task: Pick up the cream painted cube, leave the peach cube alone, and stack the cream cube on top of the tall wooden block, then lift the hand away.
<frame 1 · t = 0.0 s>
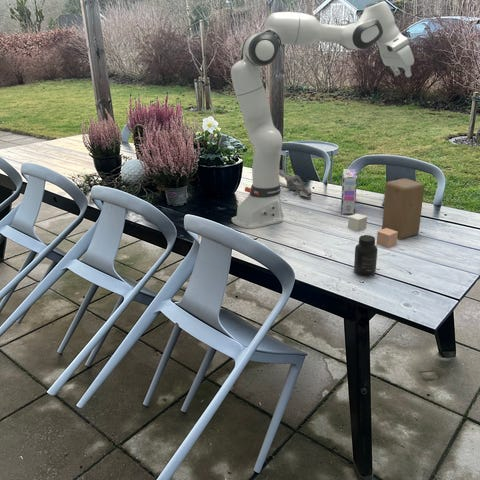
hand: (403, 75, 184), 54 cm above the table, fingers open, 8 cm apart
wooden block: (399, 233, 178), on the table
cream cube: (357, 228, 184), on the table
supplement bottle: (364, 272, 150), on the table
meal: (402, 212, 198), on the table
candy box: (347, 209, 204), on the table
peach cube: (386, 244, 169), on the table
spaceship: (293, 190, 232), on the table
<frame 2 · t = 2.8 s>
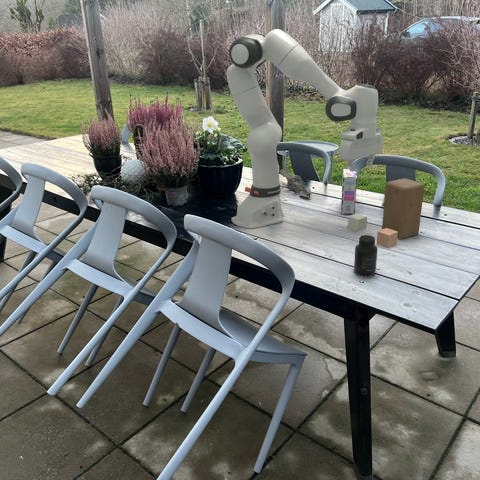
hand: (360, 168, 174), 24 cm above the table, fingers open, 8 cm apart
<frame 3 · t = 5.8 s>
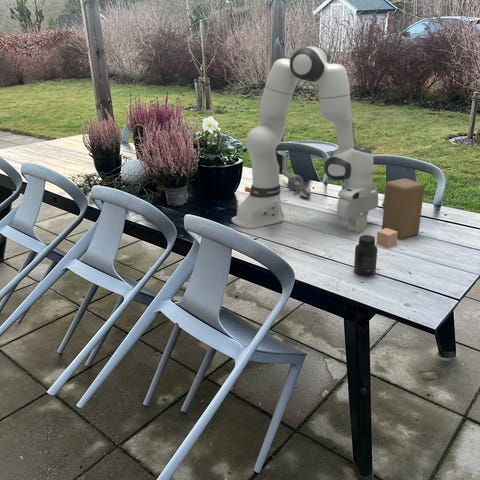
hand: (357, 223, 183), 2 cm above the table, fingers closed on cream cube, 5 cm apart
cream cube: (357, 228, 184), on the table, touching gripper
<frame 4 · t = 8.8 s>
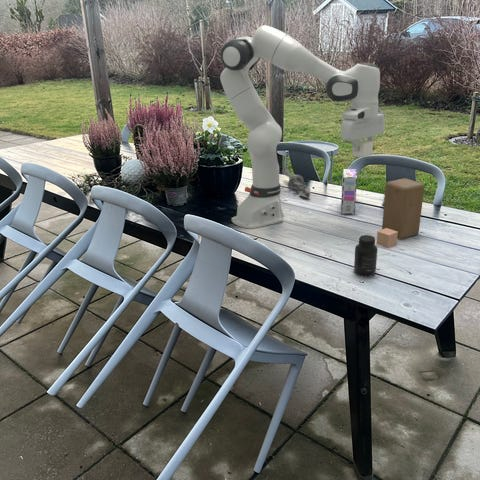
hand: (362, 149, 172), 31 cm above the table, fingers closed on cream cube, 5 cm apart
cream cube: (362, 155, 172), point 29 cm above the table, touching gripper
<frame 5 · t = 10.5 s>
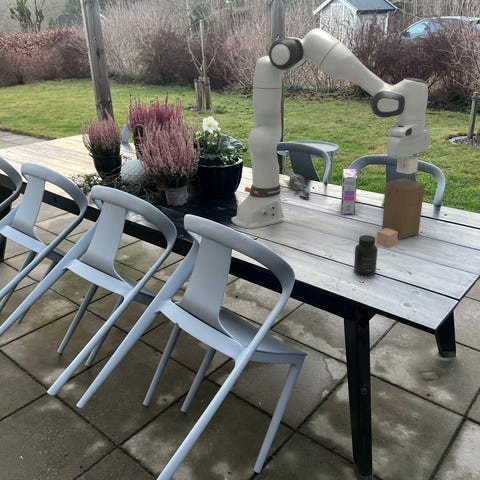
hand: (406, 166, 168), 26 cm above the table, fingers closed on cream cube, 5 cm apart
cream cube: (406, 171, 168), point 24 cm above the table, touching gripper
when the fingers open (23 cm above the table, at t = 11.9 s): cream cube drops 1 cm, resting on wooden block.
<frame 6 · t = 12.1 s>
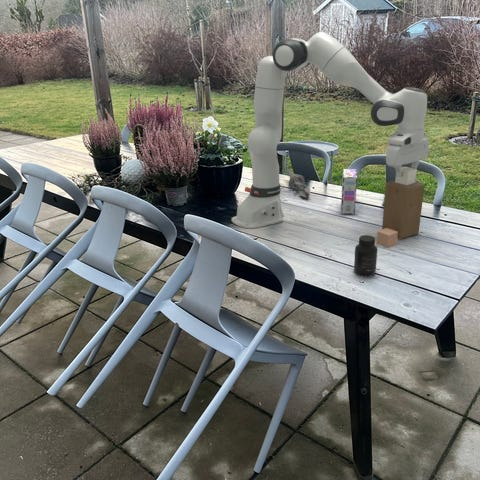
hand: (405, 174, 169), 23 cm above the table, fingers open, 7 cm apart
wooden block: (399, 233, 178), on the table, touching cream cube
cream cube: (405, 182, 170), point 20 cm above the table, touching wooden block
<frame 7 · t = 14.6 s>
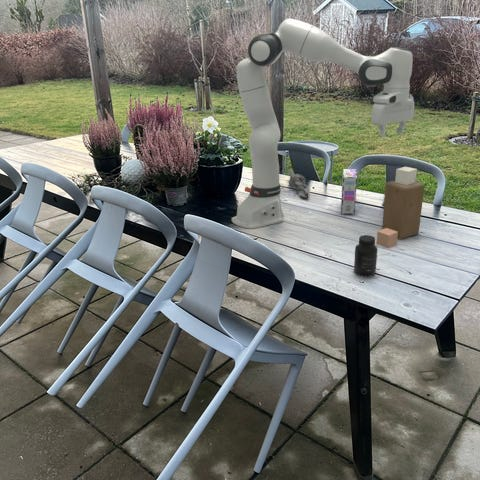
hand: (391, 134, 173), 35 cm above the table, fingers open, 8 cm apart
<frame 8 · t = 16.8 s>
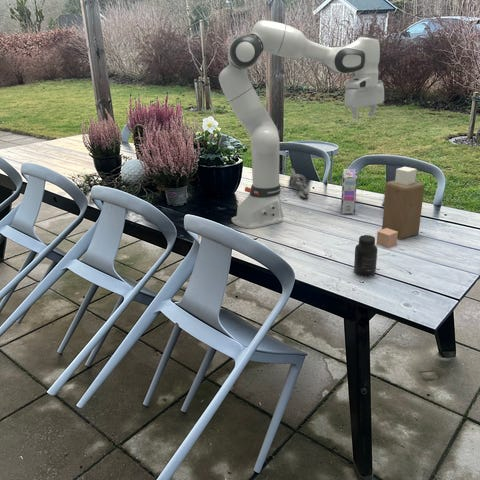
hand: (363, 117, 188), 39 cm above the table, fingers open, 8 cm apart
at the end: cream cube inside the target area on the wooden block (0.1 cm from its centre), point 20.2 cm above the wooden block's base; cream cube tilted 0°; the gripper is holding nothing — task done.
